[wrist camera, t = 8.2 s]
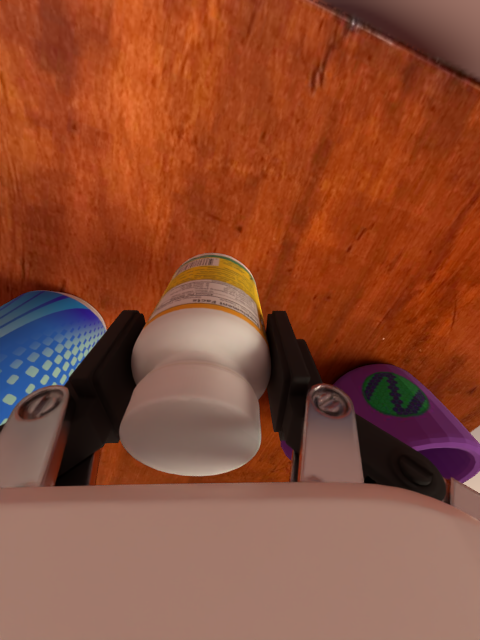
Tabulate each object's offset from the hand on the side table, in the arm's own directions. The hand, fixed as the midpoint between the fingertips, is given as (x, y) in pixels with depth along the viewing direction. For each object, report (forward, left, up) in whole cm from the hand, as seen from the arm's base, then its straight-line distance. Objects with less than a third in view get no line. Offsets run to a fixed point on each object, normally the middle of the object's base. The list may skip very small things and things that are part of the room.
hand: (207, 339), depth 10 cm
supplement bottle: (0, 0, -5) cm, 5 cm away
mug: (+15, -17, -11) cm, 25 cm away
